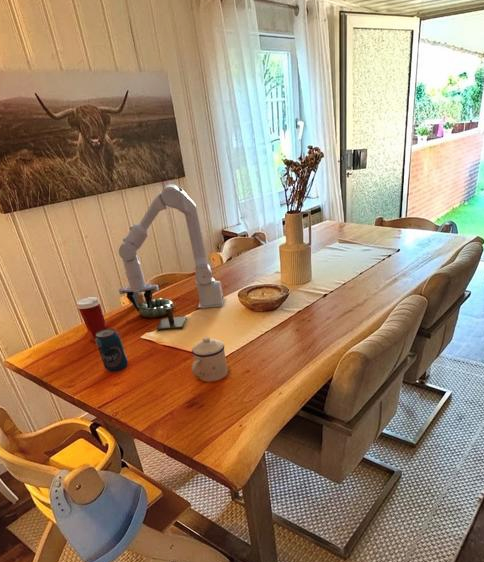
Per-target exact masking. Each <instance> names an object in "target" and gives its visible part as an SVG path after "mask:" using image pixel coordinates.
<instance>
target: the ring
mask: <svg viewBox="0 0 484 562" xmlns="http://www.w3.org/2000/svg"><path fill="white" fill-rule="evenodd" d="M139 306H140V307H139V311H138V313H139V314H140V315H141V317H143V318H149V319H155V318H161V317H164V316H167V312H166V308H167V307H171V309H172V311H173V310H174V308H175V304H174V302H173V301H172V300H170V299H168V298H162V297H161V298H152V301H151V306H152V308H148V306H147V302H146V301H145V302H144V303H143V304H140V305H139Z"/></svg>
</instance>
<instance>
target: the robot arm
mask: <svg viewBox="0 0 484 562" xmlns="http://www.w3.org/2000/svg"><path fill="white" fill-rule="evenodd" d="M167 208H171V209H175V210H178V211H179V212H180V213H182V214H184V217H185V221H186V226H187V230H188V236H189V240H190V244H191V250H192V254H193V258H194V265H195V267H194V271H195V272H194V273H195V275H194V276H195V286H196V289H197V296H198V301H199V303H198V305H197V308H198V309H207V308H208V309H209V308H219V307H223V305H224V304H223V303H224V301H225V298H224V295H223V293H224V292H223V286H222V282H221V281H220V280H215V278H214V277H213V272H212V267H211V264H210V263H209V262H208V258H207V254H206V253H207V252H206V248H205V244H204V238H203V234H202V228H201V224H200V219H199V214H198V207H197V205H196V203H195V202H194V201H193V200H192V198H191V197H190V196H189V195H188V194H187V193H186V192H185V190H184V189H183V188H182V187H181V186H178V185H177V184H174V183H167V184H165V185H164V186H163V188H162V190H161V191H159V192H158V194H157V195H156V196H155V197H154V198H153V200H152V201H151V203H150V204H149V207H148V209H147V210H146V211H145V213H144V215H143V217H142V219H141V220H140V222H137V223H134V224H133V225H130V227H129V228H128V229H129V232H127V235H126V236H125V237H123V239H122V243H121V244H120V246H119V248H118V255H119V257H120V258H121V259H122V263H123V268H124V271H125V272H126V273H125V276H126V275H127V276H126V279H127V282H128V286H124V287H119V288H118V292H119V295H124V294H126V298H127V299H128V300H129V301H130V302H131V304H132V305H133V307H134V308H135V310H136V312H139V307H140V306H141V305H140V304H139V302H138V299H137V293H136V292H143V296H144V299H145V302H147V306H148V308H152V306H151V301H152V300H153V293H154V292H158V291H159V289H160V288H159V285H158V284H146V282H145V281H146V280H145V277H144V274H143V270H142V266H141V263H140V260H139V256H138V250H140V249H141V248H142V247H143V245H144V243H145V241H146V240H147V238H148V236H149V235H150V233H149V228H150V226H151V225H152V223H153V222H154V220H155V219H156V217H157V216H158V214H159V213H160V212H161V211H164V210H167ZM129 285H130V286H129Z"/></svg>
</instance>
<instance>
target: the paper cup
mask: <svg viewBox="0 0 484 562" xmlns="http://www.w3.org/2000/svg"><path fill="white" fill-rule="evenodd" d="M76 308H77V309H78V311H79V313H80V315H81V317H82V320H83V322H84V324H85V328H86V330H87V331H88V333H89V336H90V338H91V340H92V341H93V342H94V343H96V341H95V339H96V333H97V332H98V331H100V330H103V329H108V328H107V324H106V321H105V317H104V313H103V309H102V306H101V300H99V298H98V297H97V296H89V297H83V298H81V299H79V300H78V301H76Z"/></svg>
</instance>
